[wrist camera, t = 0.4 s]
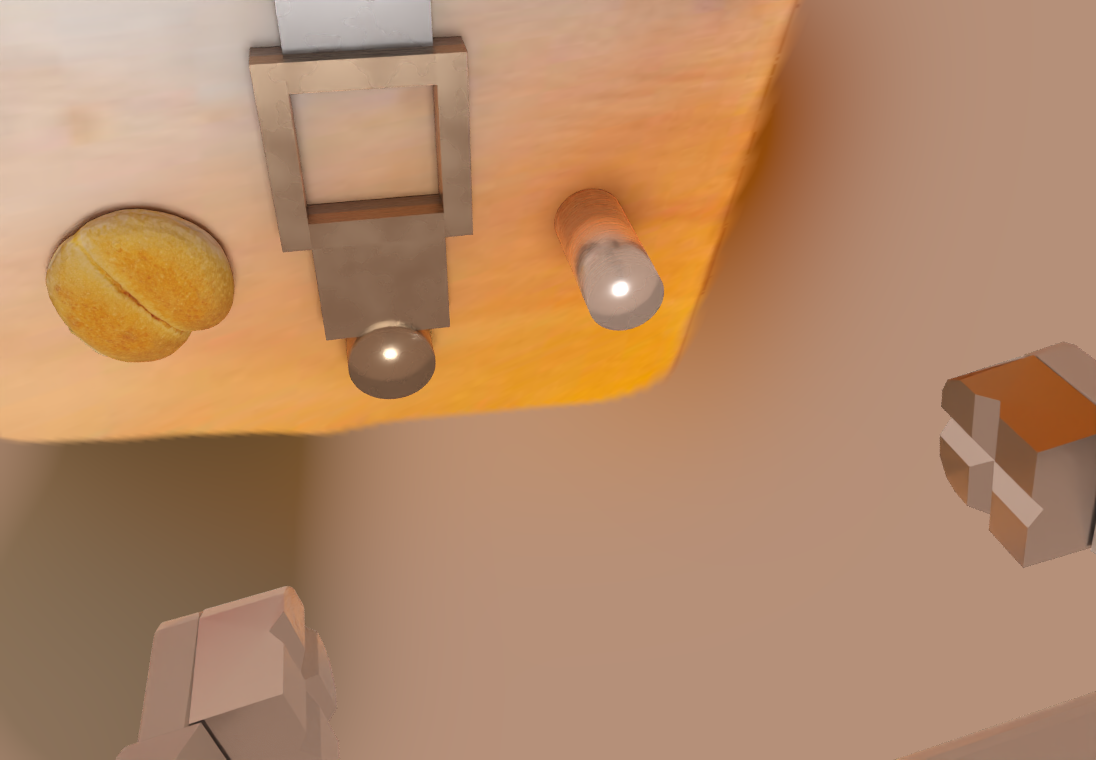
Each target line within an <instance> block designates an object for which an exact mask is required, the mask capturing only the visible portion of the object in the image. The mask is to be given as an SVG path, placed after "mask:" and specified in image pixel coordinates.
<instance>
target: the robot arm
mask: <svg viewBox="0 0 1096 760" xmlns="http://www.w3.org/2000/svg"><path fill="white" fill-rule="evenodd" d="M941 407H942V408H943V409H944V410H945V411H946V412H947V413H948V414H949V415H950V416H951V417H952V418H951V420H950V421H949V422H948V424H947V425H946V427H945V428H944V430H943V431H942V433H941V434H940V458H941V461H942V464H943V468H944V471H945V474H946V477H947V479H948V481H949V482H950V484H951V486H952V487H953V489H954V491H955V492H956V493H957V495H958V496H959V497H960V498H961V499H962V500H963V502H964V503H965V504H966V505H967V506H969V507H972V508H975V509H978V510H980V511H983V512H986V513H989V514H990V520H989V531H990V532H991V533H992V534H993V535H994V536H995V538H996V539H997V540H998V541H999V542H1000V543H1001V544H1002V545H1003V546H1004V547H1005V549H1006V550H1007V551H1008V552H1009V553H1010V554H1011V555H1012V556H1013V557H1014V558H1015V560H1016V561H1017V562H1018V563H1019V564H1020V565H1021V566H1022V567H1023V568H1025V567H1028V566H1031V565H1034V564H1038V563H1041V562H1044V561H1048V560H1051V559H1055V558H1058V557H1062V556H1065V555H1068V554H1071V553H1075V552H1078V551H1081V550H1085V549H1088V548H1091V552H1093V553H1095V554H1096V360H1095V359H1093V358H1092V357H1091V356H1089V355H1088V354H1086V352H1084V351H1083V350H1082V349H1080V348H1078V347H1077V346H1076V345H1074V344H1070V343H1066V342H1061V343H1058V344H1055V345H1052V346H1049V347H1046V348H1043V349H1040V350H1037V351H1034V352H1031V353H1028V354H1025V355H1024V356H1022V357H1017V358H1014V359H1011V360H1007V361H1004V362H1001V363H998V364H995V365H992V366H989V367H986V368H982V369H980V370H976V371H973V372H970V373H967V374H964V375H961V376H958V377H955V378H951V379H948V380H947V382H946V384H945V386H944V388H943V390H942V402H941ZM304 625H305V624H304V606H303V605H302V603H301V601H300V599H299V597H298V595H297V594H296V592H295V590H294V588H292V587H289V586H285V587H281V588H278V589H275V590H271V591H268V592H264V593H261V594H257V595H253V596H250V597H246V598H243V599H240V600H236V601H233V602H229V603H226V604H222V605H219V606H215V607H212V608H208V609H205V610H204V611H203V612H198V613H194V614H191V615H187V616H184V617H180V618H177V619H173V620H170V621H166V622H163V623H161V625H160V626H159V628H158V629H157V631H156V632H155V634H154V640H153V646H152V653H151V659H150V666H149V673H148V679H147V685H146V691H145V698H144V704H143V711H142V718H141V724H140V731H139V737H138V743H135V744H132V745H129V746H126V747H124V748H123V750H122V751H121V752H120V754H119V755H118V756H117V758H116V759H115V760H340V757H339V741H338V739H337V737H336V735H335V733H334V731H333V730H332V728H331V726H330V724H329V721H330V719H331V718H332V716H333V714H334V713H335V711H336V709H337V700H336V687H335V682H334V677H333V672H332V667H331V663H330V660H329V657H328V655H327V652H326V649H325V646H324V644H323V642H322V640H321V638H320V636H319V634H318V632H317V631H315V630H312V629H310V628H308V627H306V626H304ZM895 760H1096V691H1095V692H1092V693H1089V694H1086V695H1083V696H1080V697H1077V698H1074V699H1071V700H1068V701H1065V702H1063V703H1060V704H1056V705H1054V706H1051V707H1048V708H1045V709H1042V710H1039V711H1036V712H1033V713H1030V714H1027V715H1024V716H1021V717H1018V718H1016V719H1013V720H1010V721H1007V722H1004V723H1001V724H998V725H995V726H992V727H989V728H986V729H983V730H980V731H978V732H975V733H971V734H969V735H966V736H963V737H960V738H957V739H954V740H951V741H948V742H945V743H942V744H939V745H936V746H933V747H931V748H927V749H925V750H922V751H919V752H916V753H913V754H910V755H907V756H904V757H901V758H898V759H895Z"/></svg>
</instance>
